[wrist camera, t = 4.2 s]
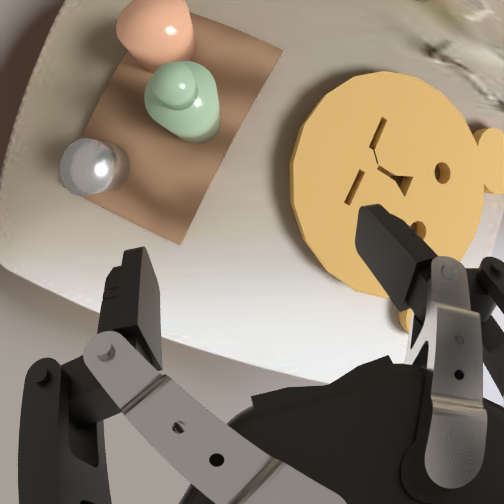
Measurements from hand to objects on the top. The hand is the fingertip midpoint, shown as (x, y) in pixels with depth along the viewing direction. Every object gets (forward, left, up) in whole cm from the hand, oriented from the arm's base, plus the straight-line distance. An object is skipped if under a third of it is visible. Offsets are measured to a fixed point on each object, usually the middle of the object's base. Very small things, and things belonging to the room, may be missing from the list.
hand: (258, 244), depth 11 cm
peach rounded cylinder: (-11, -15, -20) cm, 27 cm away
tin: (+3, -14, -20) cm, 25 cm away
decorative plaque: (-10, +17, -22) cm, 30 cm away
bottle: (-5, -8, -20) cm, 22 cm away
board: (-5, -11, -22) cm, 25 cm away
